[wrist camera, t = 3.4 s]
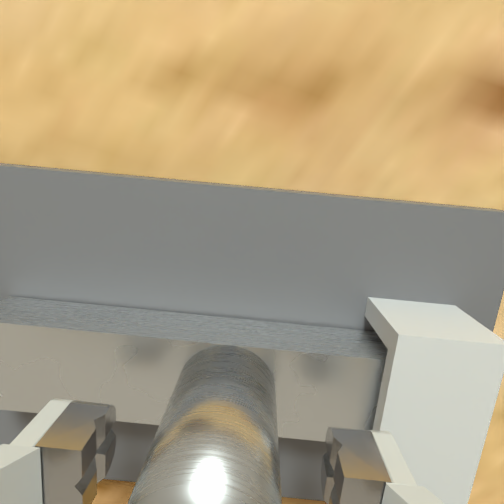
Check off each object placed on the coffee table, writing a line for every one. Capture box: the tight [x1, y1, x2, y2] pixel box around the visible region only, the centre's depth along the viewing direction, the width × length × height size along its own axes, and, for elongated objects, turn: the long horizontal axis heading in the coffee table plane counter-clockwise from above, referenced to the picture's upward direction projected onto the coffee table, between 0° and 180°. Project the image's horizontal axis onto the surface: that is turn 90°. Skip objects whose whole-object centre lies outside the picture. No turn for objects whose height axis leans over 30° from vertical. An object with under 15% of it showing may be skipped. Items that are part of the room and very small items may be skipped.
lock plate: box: [0, 163, 504, 504], centre depth 12 cm, size 26×12×4 cm, turn 85°
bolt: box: [0, 296, 388, 504], centre depth 10 cm, size 16×3×7 cm, turn 85°
